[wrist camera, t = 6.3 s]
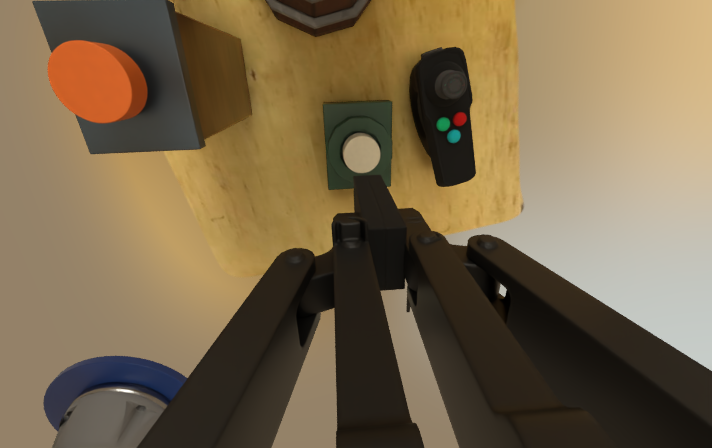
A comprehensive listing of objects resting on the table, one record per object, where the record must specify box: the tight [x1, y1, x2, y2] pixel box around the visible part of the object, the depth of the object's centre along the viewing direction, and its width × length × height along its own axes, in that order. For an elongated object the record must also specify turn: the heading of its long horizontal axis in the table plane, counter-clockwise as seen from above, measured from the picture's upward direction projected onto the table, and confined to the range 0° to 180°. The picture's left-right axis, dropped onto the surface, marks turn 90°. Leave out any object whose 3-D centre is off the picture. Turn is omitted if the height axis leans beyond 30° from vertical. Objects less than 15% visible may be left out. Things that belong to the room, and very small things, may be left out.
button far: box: [343, 133, 380, 173], centre depth 32 cm, size 4×4×2 cm
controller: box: [409, 47, 476, 187], centre depth 31 cm, size 4×12×10 cm, turn 17°
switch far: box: [323, 100, 392, 190], centre depth 34 cm, size 9×7×4 cm
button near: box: [48, 40, 147, 123], centre depth 16 cm, size 4×4×2 cm
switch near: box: [33, 0, 252, 154], centre depth 25 cm, size 8×6×16 cm
